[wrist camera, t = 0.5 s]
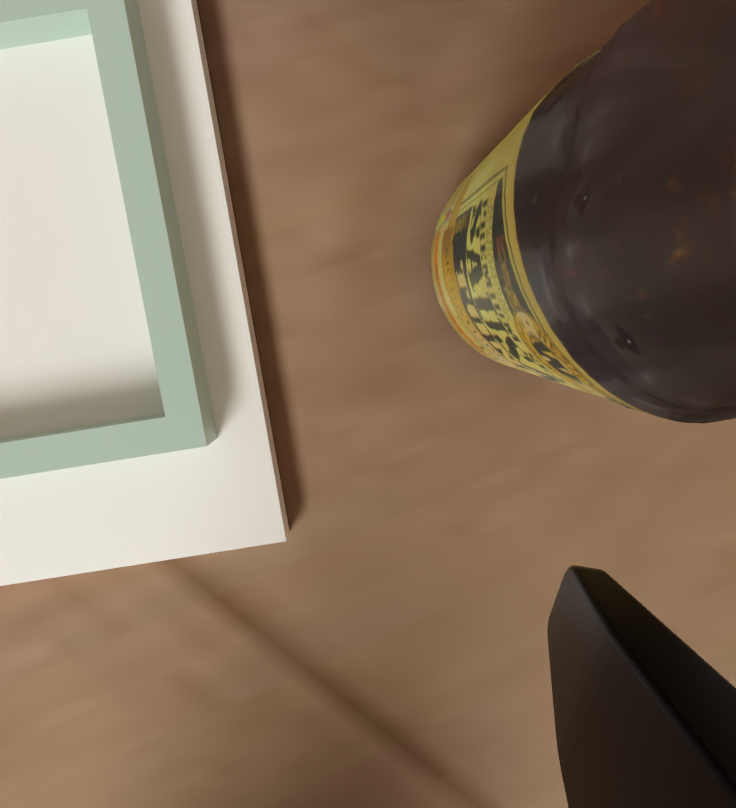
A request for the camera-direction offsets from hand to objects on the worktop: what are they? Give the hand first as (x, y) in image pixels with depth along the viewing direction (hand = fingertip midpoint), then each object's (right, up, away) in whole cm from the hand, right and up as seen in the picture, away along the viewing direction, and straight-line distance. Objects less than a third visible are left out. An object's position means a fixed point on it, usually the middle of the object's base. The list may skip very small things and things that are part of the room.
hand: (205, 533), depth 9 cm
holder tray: (-10, +6, +13) cm, 18 cm away
